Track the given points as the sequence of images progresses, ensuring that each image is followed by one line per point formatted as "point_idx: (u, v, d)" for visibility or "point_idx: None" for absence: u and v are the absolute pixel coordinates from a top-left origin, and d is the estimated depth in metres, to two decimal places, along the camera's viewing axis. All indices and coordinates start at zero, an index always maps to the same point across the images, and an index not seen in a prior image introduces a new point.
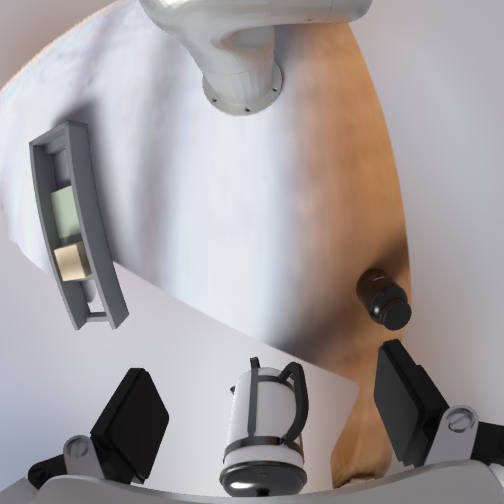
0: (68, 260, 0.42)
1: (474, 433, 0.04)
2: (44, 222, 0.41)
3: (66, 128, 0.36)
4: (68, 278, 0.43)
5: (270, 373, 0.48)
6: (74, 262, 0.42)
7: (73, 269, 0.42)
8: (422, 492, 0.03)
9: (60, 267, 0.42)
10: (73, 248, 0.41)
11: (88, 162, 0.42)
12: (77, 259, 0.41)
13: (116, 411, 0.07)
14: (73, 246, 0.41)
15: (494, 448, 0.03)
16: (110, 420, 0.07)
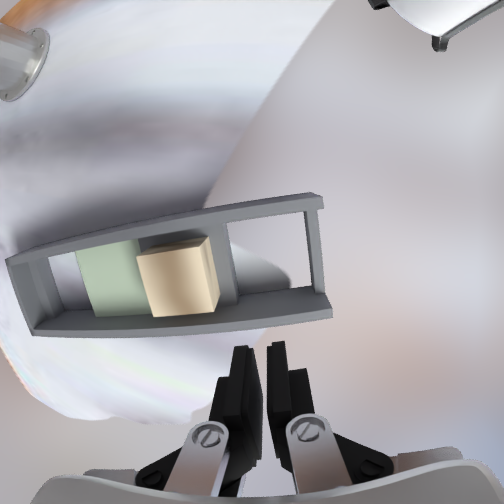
0: (168, 284, 0.24)
1: (331, 434, 0.06)
2: (116, 328, 0.26)
3: (10, 261, 0.25)
4: (206, 295, 0.24)
5: None
6: (169, 267, 0.24)
7: (185, 275, 0.24)
8: (422, 492, 0.03)
9: (185, 310, 0.25)
10: (142, 264, 0.24)
11: (61, 240, 0.29)
12: (164, 259, 0.23)
13: (242, 388, 0.08)
14: (140, 263, 0.24)
15: None
16: (241, 398, 0.08)
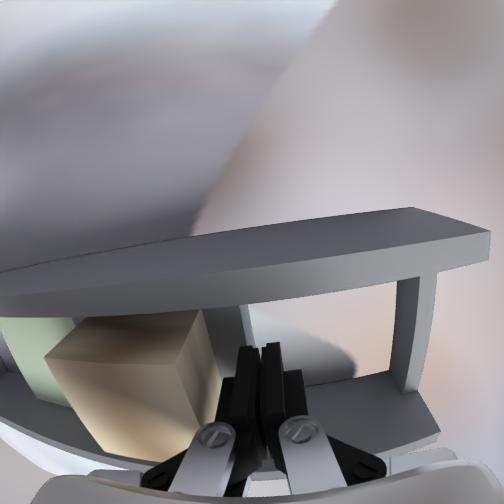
0: (117, 418, 0.09)
1: (324, 435, 0.06)
2: (57, 438, 0.11)
3: None
4: None
5: None
6: (111, 393, 0.08)
7: (150, 413, 0.08)
8: (422, 492, 0.03)
9: (160, 457, 0.09)
10: (58, 374, 0.08)
11: None
12: (96, 377, 0.08)
13: (248, 388, 0.08)
14: (54, 371, 0.08)
15: None
16: (247, 398, 0.08)
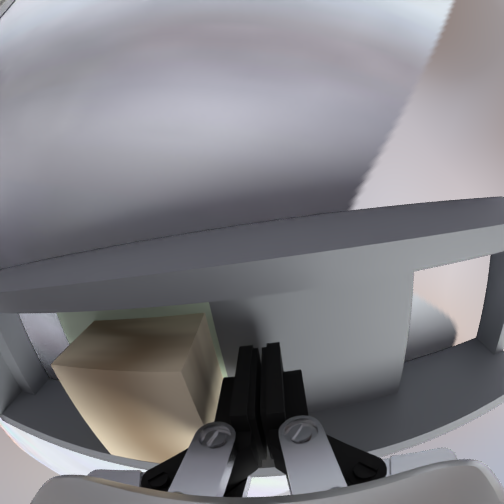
0: (124, 423, 0.09)
1: (324, 435, 0.06)
2: None
3: None
4: None
5: None
6: (118, 399, 0.08)
7: (156, 417, 0.09)
8: (422, 492, 0.03)
9: None
10: (66, 380, 0.08)
11: (27, 265, 0.13)
12: (104, 383, 0.08)
13: (248, 388, 0.08)
14: (61, 378, 0.08)
15: None
16: (247, 398, 0.08)
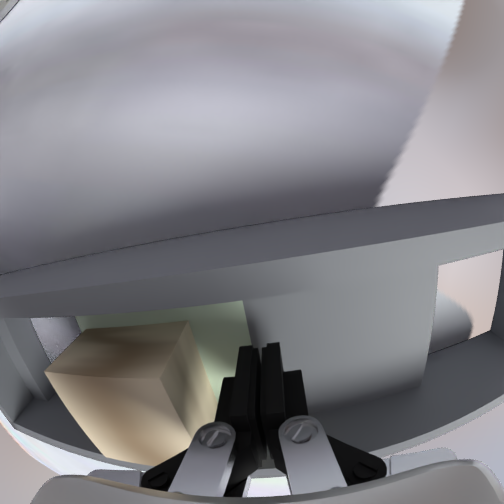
0: (114, 426, 0.09)
1: (324, 435, 0.06)
2: None
3: None
4: None
5: None
6: (106, 403, 0.09)
7: (142, 421, 0.09)
8: (422, 492, 0.03)
9: (155, 462, 0.10)
10: (58, 386, 0.09)
11: (40, 267, 0.13)
12: (92, 389, 0.08)
13: (248, 388, 0.08)
14: (54, 384, 0.09)
15: None
16: (247, 398, 0.08)
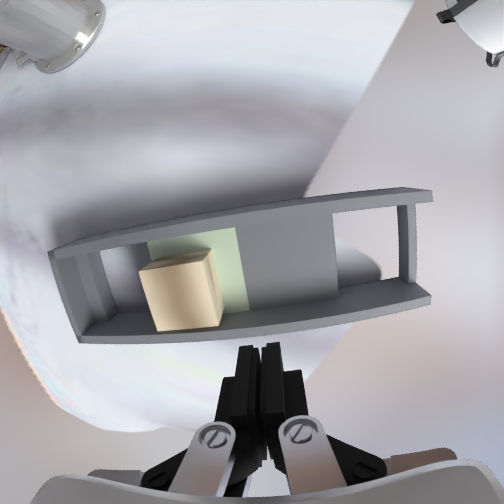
0: (172, 298, 0.24)
1: (324, 435, 0.06)
2: (205, 330, 0.25)
3: (56, 254, 0.24)
4: (210, 309, 0.24)
5: None
6: (172, 282, 0.23)
7: (189, 290, 0.23)
8: (422, 492, 0.03)
9: (189, 324, 0.24)
10: (145, 279, 0.23)
11: (123, 229, 0.28)
12: (167, 274, 0.23)
13: (248, 388, 0.08)
14: (142, 278, 0.23)
15: None
16: (247, 398, 0.08)
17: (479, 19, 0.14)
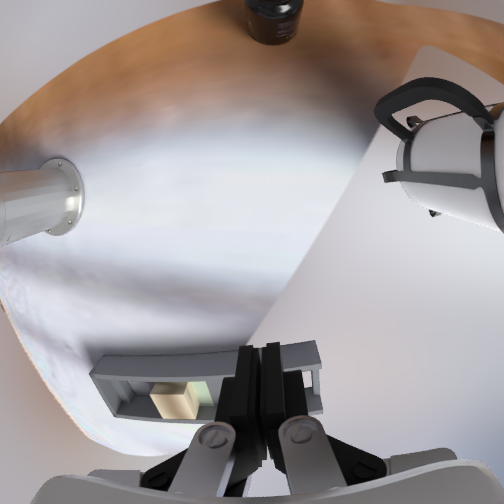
0: (169, 407, 0.38)
1: (324, 435, 0.06)
2: None
3: (95, 376, 0.39)
4: (190, 412, 0.39)
5: (401, 153, 0.29)
6: (168, 400, 0.38)
7: (178, 404, 0.38)
8: (422, 492, 0.03)
9: (180, 417, 0.39)
10: (153, 397, 0.38)
11: (134, 358, 0.43)
12: (165, 397, 0.38)
13: (248, 388, 0.08)
14: (152, 397, 0.38)
15: None
16: (247, 398, 0.08)
17: (420, 196, 0.28)
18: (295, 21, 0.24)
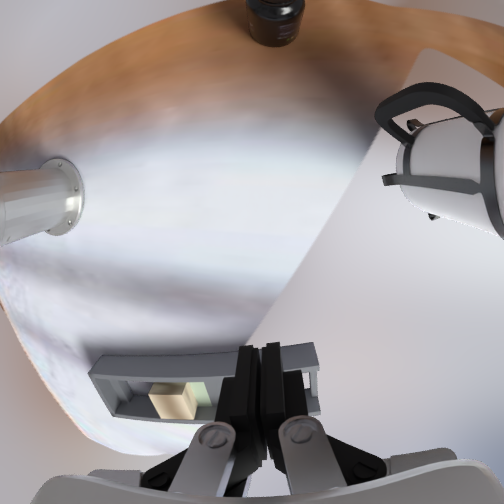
0: (167, 407, 0.39)
1: (324, 435, 0.06)
2: None
3: (94, 376, 0.39)
4: (188, 413, 0.39)
5: (401, 157, 0.30)
6: (167, 401, 0.38)
7: (176, 404, 0.38)
8: (422, 492, 0.03)
9: (178, 417, 0.39)
10: (152, 397, 0.38)
11: (133, 358, 0.43)
12: (164, 397, 0.38)
13: (248, 388, 0.08)
14: (150, 397, 0.38)
15: None
16: (247, 398, 0.08)
17: (419, 199, 0.29)
18: (296, 23, 0.24)
